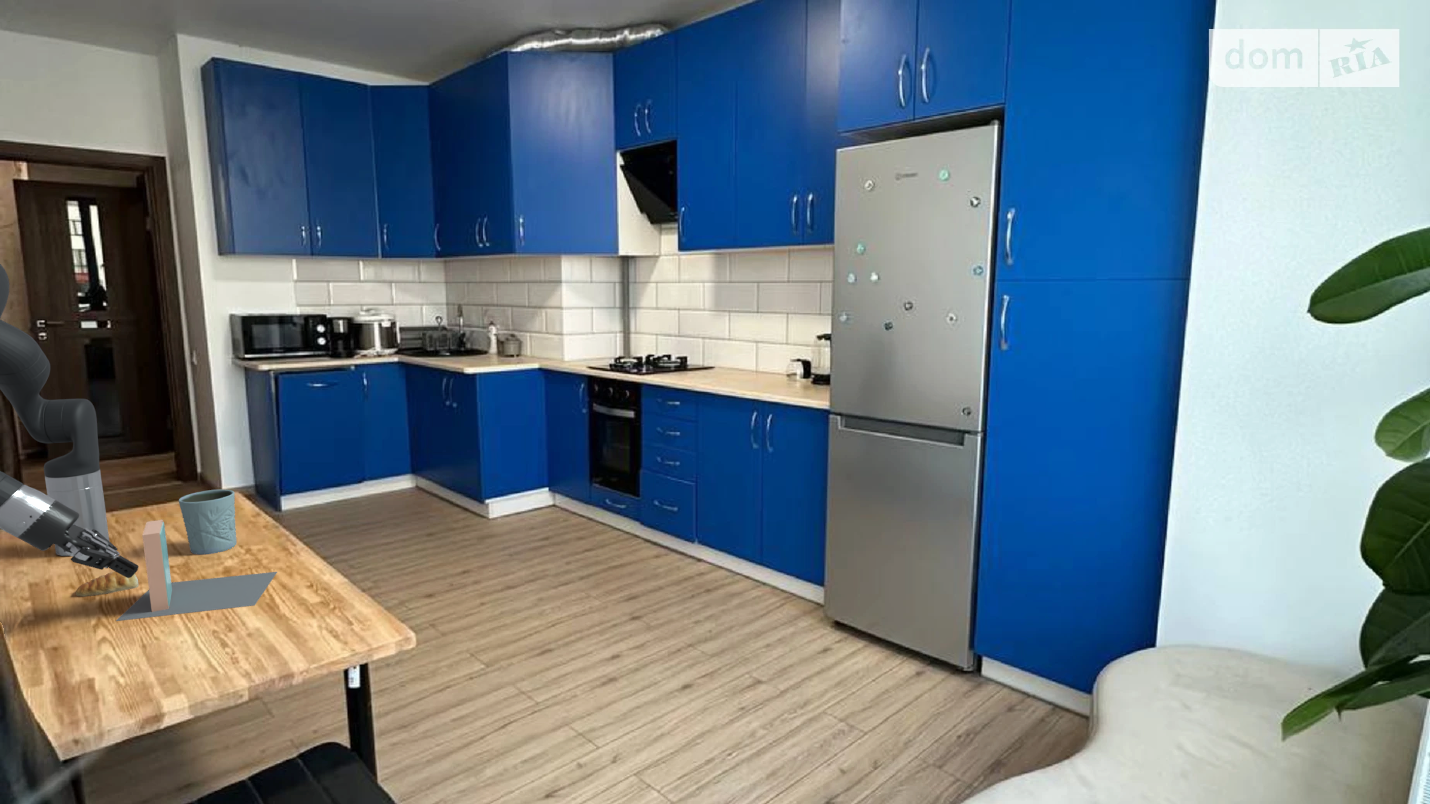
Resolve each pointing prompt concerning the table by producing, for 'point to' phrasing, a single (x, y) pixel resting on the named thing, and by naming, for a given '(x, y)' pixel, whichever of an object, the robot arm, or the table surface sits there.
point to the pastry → (107, 584)
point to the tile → (157, 565)
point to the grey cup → (209, 520)
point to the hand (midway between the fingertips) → (134, 572)
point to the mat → (205, 595)
